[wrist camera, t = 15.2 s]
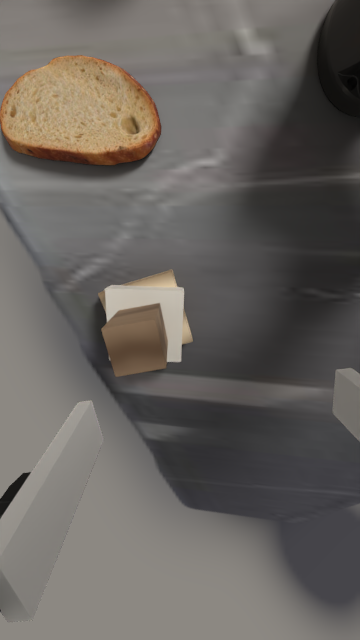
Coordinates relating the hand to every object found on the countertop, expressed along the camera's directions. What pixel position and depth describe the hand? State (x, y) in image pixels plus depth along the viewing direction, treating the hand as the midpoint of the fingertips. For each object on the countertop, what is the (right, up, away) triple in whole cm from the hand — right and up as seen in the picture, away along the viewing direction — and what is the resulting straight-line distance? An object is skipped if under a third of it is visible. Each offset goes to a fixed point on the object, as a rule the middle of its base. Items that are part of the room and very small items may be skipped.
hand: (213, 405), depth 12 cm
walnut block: (-7, +4, +20) cm, 22 cm away
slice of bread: (-15, +32, +20) cm, 41 cm away
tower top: (-7, +5, +24) cm, 25 cm away
